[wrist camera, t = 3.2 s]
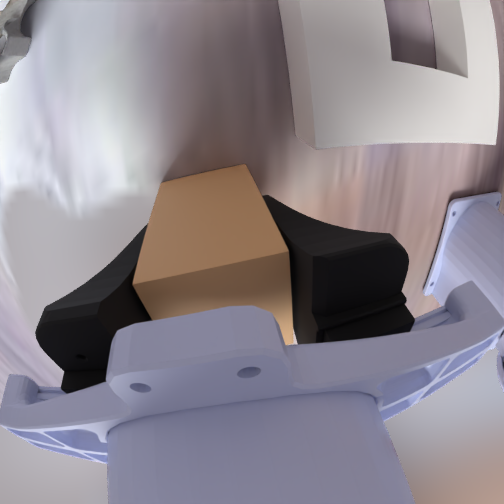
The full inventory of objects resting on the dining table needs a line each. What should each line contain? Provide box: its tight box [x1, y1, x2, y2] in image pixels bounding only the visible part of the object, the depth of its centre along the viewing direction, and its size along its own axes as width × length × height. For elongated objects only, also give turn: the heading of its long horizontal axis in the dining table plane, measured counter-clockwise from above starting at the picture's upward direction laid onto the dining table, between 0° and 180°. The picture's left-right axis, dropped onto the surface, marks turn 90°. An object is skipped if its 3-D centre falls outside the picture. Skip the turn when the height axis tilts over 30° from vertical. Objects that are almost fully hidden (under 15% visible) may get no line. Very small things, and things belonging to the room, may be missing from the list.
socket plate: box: [278, 0, 499, 149], centre depth 7 cm, size 13×13×2 cm
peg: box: [132, 164, 293, 345], centre depth 11 cm, size 4×4×7 cm
